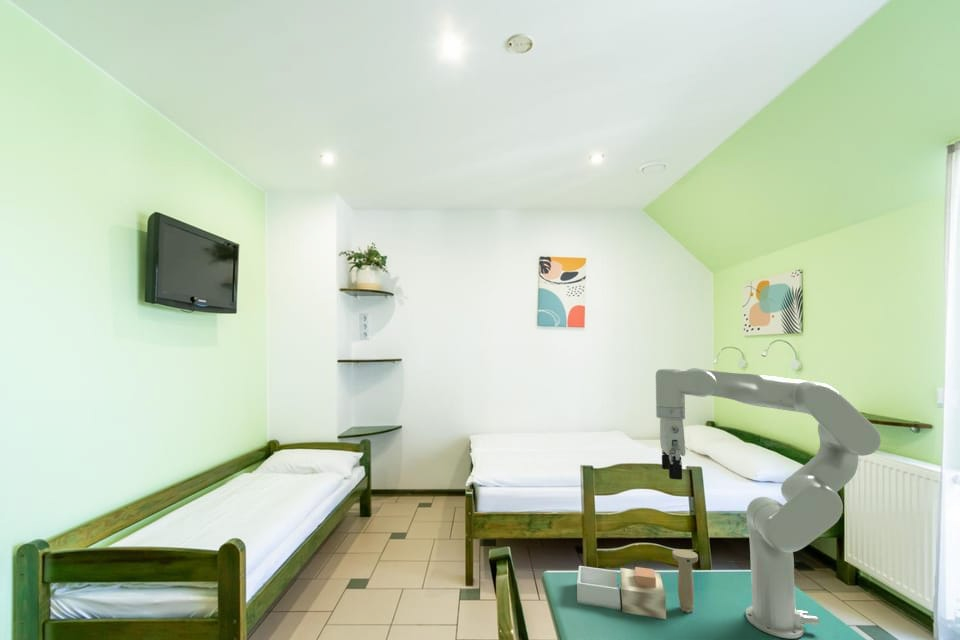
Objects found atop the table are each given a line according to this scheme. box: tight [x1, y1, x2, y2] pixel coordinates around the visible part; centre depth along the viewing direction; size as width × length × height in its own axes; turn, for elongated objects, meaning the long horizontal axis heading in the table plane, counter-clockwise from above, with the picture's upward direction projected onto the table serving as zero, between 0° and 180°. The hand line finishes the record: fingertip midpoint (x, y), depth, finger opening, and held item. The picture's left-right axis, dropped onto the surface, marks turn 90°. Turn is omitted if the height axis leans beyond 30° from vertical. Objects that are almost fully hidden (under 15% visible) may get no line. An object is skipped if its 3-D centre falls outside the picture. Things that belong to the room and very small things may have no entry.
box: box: [576, 565, 621, 611], centre depth 125 cm, size 12×10×5 cm
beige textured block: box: [619, 567, 667, 620], centre depth 122 cm, size 11×12×6 cm
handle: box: [671, 549, 699, 614], centre depth 119 cm, size 5×6×15 cm
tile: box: [634, 566, 656, 588], centre depth 122 cm, size 5×5×2 cm
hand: (671, 473), depth 122 cm, fingers open, 9 cm apart
